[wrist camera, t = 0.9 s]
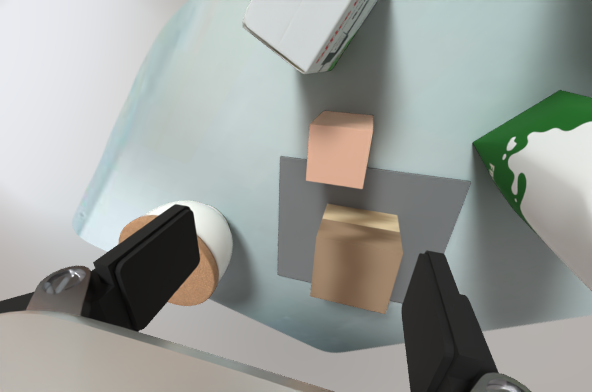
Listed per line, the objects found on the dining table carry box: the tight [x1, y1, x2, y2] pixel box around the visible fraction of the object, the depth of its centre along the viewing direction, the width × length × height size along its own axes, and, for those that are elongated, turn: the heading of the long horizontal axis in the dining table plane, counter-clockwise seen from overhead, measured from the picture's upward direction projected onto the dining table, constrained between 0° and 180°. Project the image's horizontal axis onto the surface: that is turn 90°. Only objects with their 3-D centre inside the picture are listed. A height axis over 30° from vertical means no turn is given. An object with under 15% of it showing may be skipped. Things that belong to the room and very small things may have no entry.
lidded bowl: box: [119, 200, 233, 306], centre depth 34 cm, size 13×13×11 cm
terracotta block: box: [306, 111, 373, 189], centre depth 25 cm, size 5×5×7 cm
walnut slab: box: [310, 219, 403, 314], centre depth 28 cm, size 8×8×4 cm
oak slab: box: [322, 204, 400, 232], centre depth 31 cm, size 8×8×4 cm
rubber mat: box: [278, 156, 471, 303], centre depth 33 cm, size 20×18×1 cm
